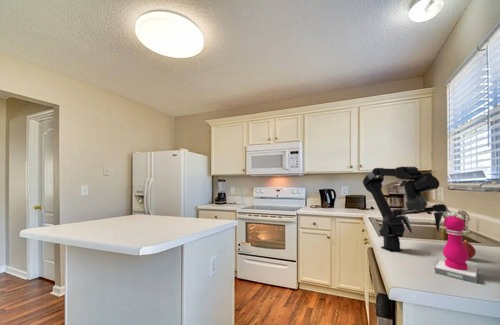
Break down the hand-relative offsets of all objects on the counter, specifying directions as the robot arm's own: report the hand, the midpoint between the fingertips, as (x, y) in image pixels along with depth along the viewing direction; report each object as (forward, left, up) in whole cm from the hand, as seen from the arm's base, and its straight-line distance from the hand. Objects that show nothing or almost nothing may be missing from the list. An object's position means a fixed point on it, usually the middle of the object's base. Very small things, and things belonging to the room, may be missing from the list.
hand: (424, 232), depth 94 cm
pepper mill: (+9, +3, -11) cm, 14 cm away
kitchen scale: (+10, +3, -13) cm, 16 cm away
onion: (0, +23, -13) cm, 26 cm away
